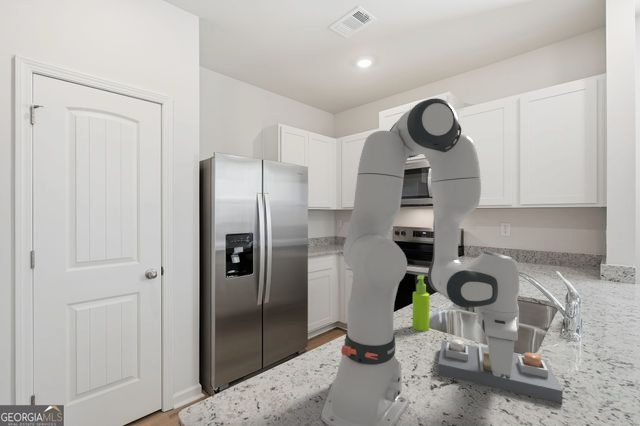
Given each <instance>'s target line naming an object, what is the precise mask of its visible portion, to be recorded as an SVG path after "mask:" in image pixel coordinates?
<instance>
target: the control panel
mask: <svg viewBox="0 0 640 426" xmlns="http://www.w3.org/2000/svg"><path fill="white" fill-rule="evenodd" d="M450 346H451V340H450V341H449V340H444V339H442V340H441V346H440V351H439V358H438V363H437V372H438V373H437V375H439V376H443V377H447V378H451V379H455V380H459V381H464V382H469V383H472V384H477V385H482V386H485V387H490V388H494V389H498V390H503V391H506V392H510V393H511V392H512V393H516V394H520V395H523V396H528V397H533V398H537V399H542V400H546V401H549V402H555V403H557V404H558V403H559V404H563V389H562V387H561V385H560V383H559V381H558V379H557V378H556V376H555V374H554V372H553V370H552V368H551V366H550V365H549V363H548V360H547V359H546V358H541V367H540V368H538V367H533V366H528V365H526V364H525V363H524V354H519V353H513V362H512V370H511V373H510V375H504V374H501V377H498V376H494V375H493V372H492V371H490V370H485V369H484V362H483V360H484V351H485V352H489V351H488V347H482V345H481V344H478V346H476V345H471V344H465V343H464V352H457V351H452V350H451V349H450Z"/></svg>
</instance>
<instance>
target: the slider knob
mask: <svg viewBox="0 0 640 426" xmlns="http://www.w3.org/2000/svg"><path fill="white" fill-rule="evenodd" d="M483 362H484V369H485V370H490V371H492V370H491V364H490V357H489V352H485V351H484V360H483Z"/></svg>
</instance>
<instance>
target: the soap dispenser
mask: <svg viewBox="0 0 640 426" xmlns="http://www.w3.org/2000/svg"><path fill="white" fill-rule="evenodd" d="M424 279H425V274H418V275H417V277H416V280H418V282H417V283H416V287H415V289H416V291H413V292H412V323H411V324H412V329H414V330H415V331H418V332H419V331H420V332H427V331H429V330H430V293H428V292H427V284H426V283H424V282H425V281H424Z"/></svg>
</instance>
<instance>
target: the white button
mask: <svg viewBox="0 0 640 426" xmlns="http://www.w3.org/2000/svg"><path fill="white" fill-rule="evenodd" d="M450 342H451V346H450V349H451V350H452V351H457V352H464V344H465V341H463V340H461V339H457V338H456V339H454V338H453V339H451V340H450Z"/></svg>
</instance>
